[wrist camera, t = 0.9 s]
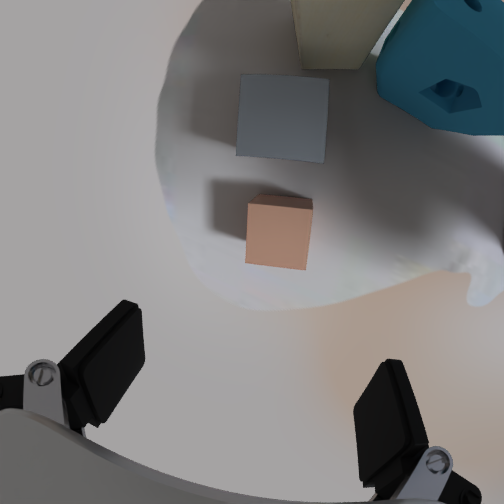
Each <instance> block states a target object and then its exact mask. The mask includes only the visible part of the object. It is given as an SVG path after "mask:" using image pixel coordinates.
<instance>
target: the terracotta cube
mask: <svg viewBox="0 0 504 504" xmlns="http://www.w3.org/2000/svg"><path fill="white" fill-rule="evenodd" d="M312 215H313V203H312V199H305V198H296V197H286V196H276V195H265V194H259V195H257V196H256V197H255V198H254V199H253V200H251V201H250V202H249V203H248V216H247V237H246V259H245V263H249V264H257V265H265V266H273V267H282V268H290V269H298V270H306V264H307V257H308V249H309V241H310V233H311V224H312Z"/></svg>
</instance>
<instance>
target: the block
mask: <svg viewBox="0 0 504 504" xmlns="http://www.w3.org/2000/svg"><path fill="white" fill-rule="evenodd" d="M376 78H377V92H378V94H379V96H380V97H382V98H383V99H385V100H387V101H389V102H390V103H392V104H394V105H396V106H397V107H399V108H401V109H402V110H404V111H406V112H407V113H409V114H411V115H412V116H414V117H415V118H417V119H418V120H420V121H422V122H423V123H425V124H426V125H428V126H429V127H431V128H433V129H440V130H446V131H452V132H458V133H463V134H468V135H473V136H477V135H504V2H502V1H501V0H412V1H411V3H410V4H409V6H408V7H407V8H406V10H405V11H404V13H403V14H402V16H401V17H400V18H399V20H398V21H397V23H396V24H395V26H394V27H393V29H392V30H391V32H390V33H389V35H388V36H387V37H386V39H385V41H384V44H383V47H382V49H381V52H380V54H379V57H378V59H377V62H376Z"/></svg>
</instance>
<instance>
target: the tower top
mask: <svg viewBox="0 0 504 504" xmlns="http://www.w3.org/2000/svg"><path fill="white" fill-rule="evenodd" d="M328 98H329V79H323V78H313V77H303V76H289V75H266V74H241V83H240V97H239V111H238V127H237V144H236V156H250V157H265V158H277V159H288V160H298V161H307V162H315V163H323V164H324V156H325V144H326V131H327V116H328Z"/></svg>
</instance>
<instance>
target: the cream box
mask: <svg viewBox="0 0 504 504" xmlns="http://www.w3.org/2000/svg"><path fill="white" fill-rule="evenodd" d="M404 1H405V0H291V6H292V12H293V19H294V25H295V31H296V37H297V43H298V50H299V57H300V64H301V68H302V69H304V70H307V69H356V70H357V69H359V68H360V67H361V65H362V64H363V62H364V61H365V59H366V58H367V56H368V55H369V53H370V52H371V50H372V49H373V47H374V45H375V44H376V42H377V41H378V39H379V38H380V36H381V35H382V33H383V32H384V30H385V29H386V27H387V25H388V24H389V23H390V21H391V20H392V18H393V17H394V15H395V14H396V12H397V11H398V9H399V8H400V6H401V5H402V4H403V2H404Z"/></svg>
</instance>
